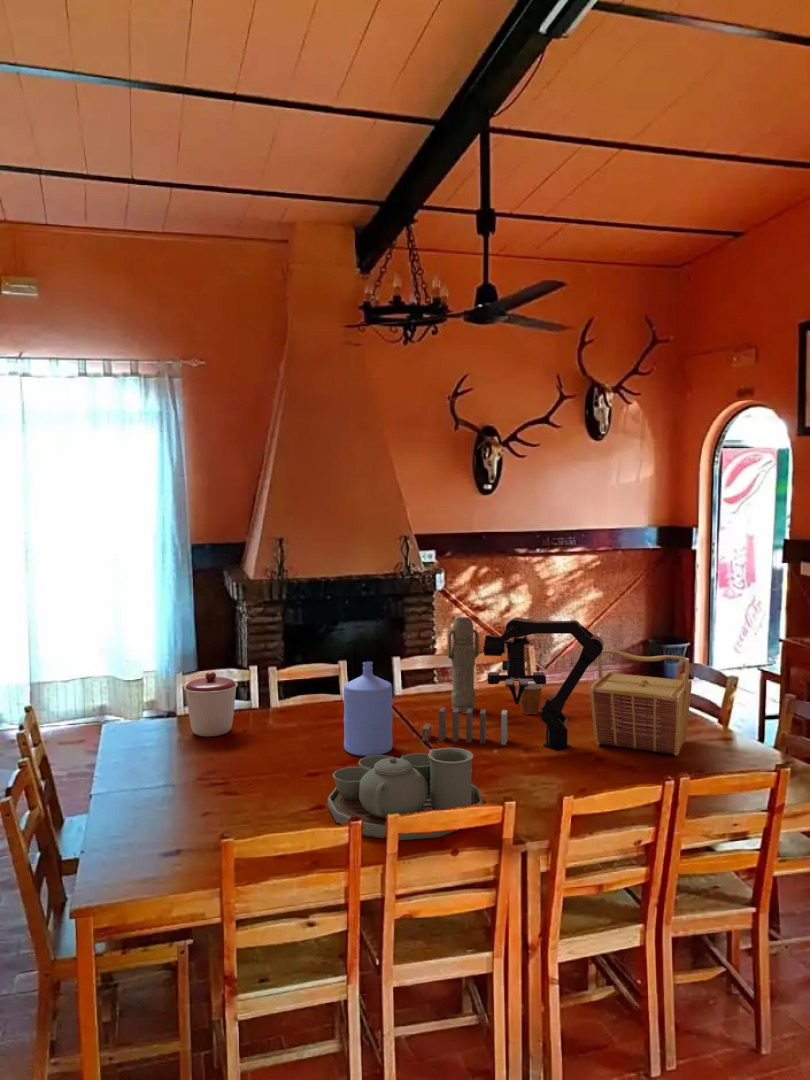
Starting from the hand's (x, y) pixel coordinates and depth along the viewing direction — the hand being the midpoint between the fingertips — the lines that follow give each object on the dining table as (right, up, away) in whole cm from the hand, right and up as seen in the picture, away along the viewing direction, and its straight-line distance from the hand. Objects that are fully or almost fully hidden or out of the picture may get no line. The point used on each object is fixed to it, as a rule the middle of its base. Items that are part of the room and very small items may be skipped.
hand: (516, 704), depth 258 cm
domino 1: (-24, -13, +5) cm, 28 cm away
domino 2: (-20, -13, +5) cm, 24 cm away
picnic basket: (+40, -13, -1) cm, 42 cm away
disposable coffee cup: (+10, -11, +36) cm, 39 cm away
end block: (-29, -13, +6) cm, 32 cm away
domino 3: (-15, -13, +4) cm, 20 cm away
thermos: (-14, -11, +40) cm, 44 cm away
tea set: (-37, -17, -52) cm, 66 cm away
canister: (-103, -13, +14) cm, 105 cm away
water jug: (-48, -14, -4) cm, 50 cm away
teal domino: (-4, -13, +2) cm, 13 cm away
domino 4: (-11, -13, +3) cm, 17 cm away
